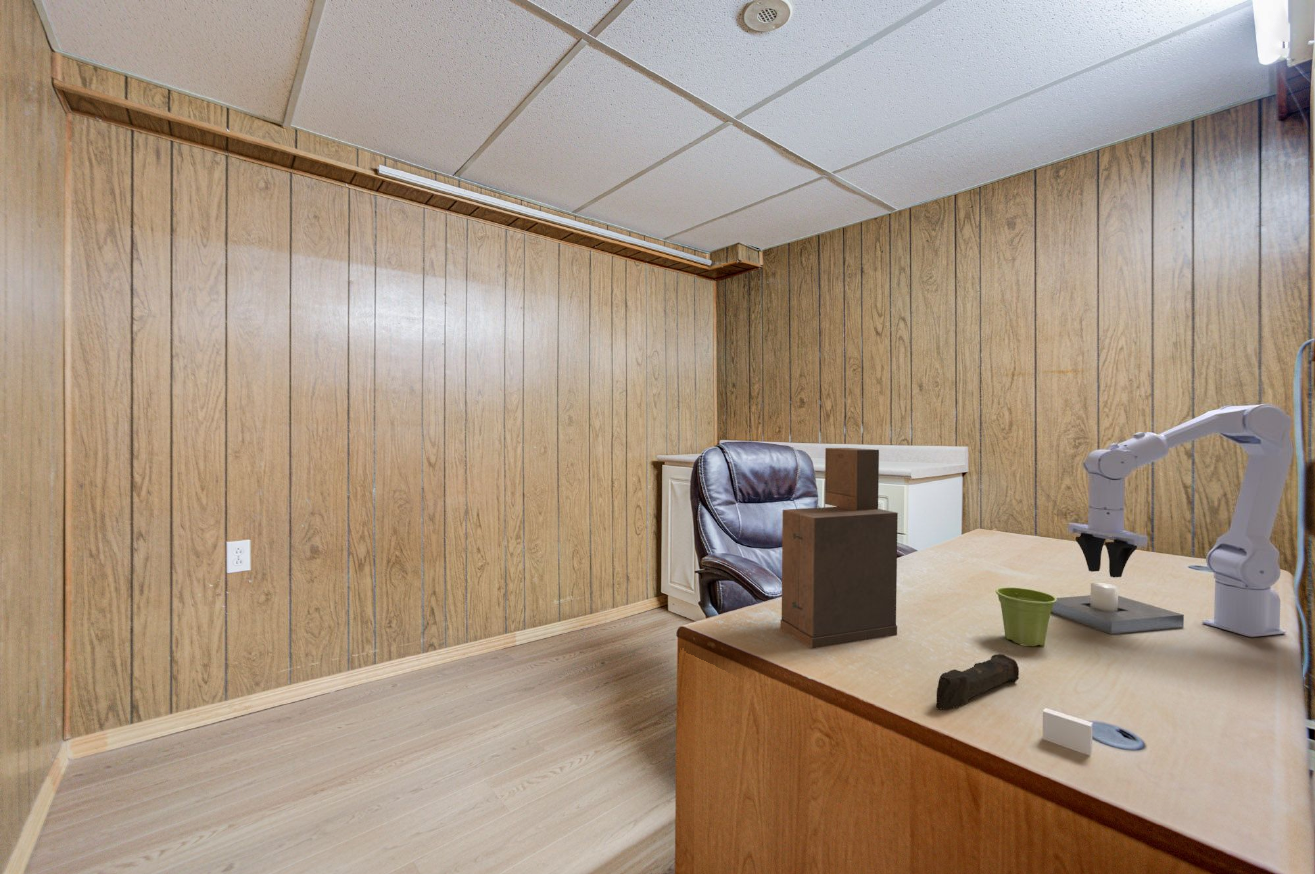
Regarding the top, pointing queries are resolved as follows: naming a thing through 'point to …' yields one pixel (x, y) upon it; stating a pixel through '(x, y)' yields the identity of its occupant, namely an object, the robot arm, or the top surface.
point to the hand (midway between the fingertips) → (1104, 573)
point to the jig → (1118, 615)
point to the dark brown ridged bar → (974, 680)
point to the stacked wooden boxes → (841, 558)
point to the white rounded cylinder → (1104, 597)
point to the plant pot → (1025, 614)
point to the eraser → (1067, 731)
